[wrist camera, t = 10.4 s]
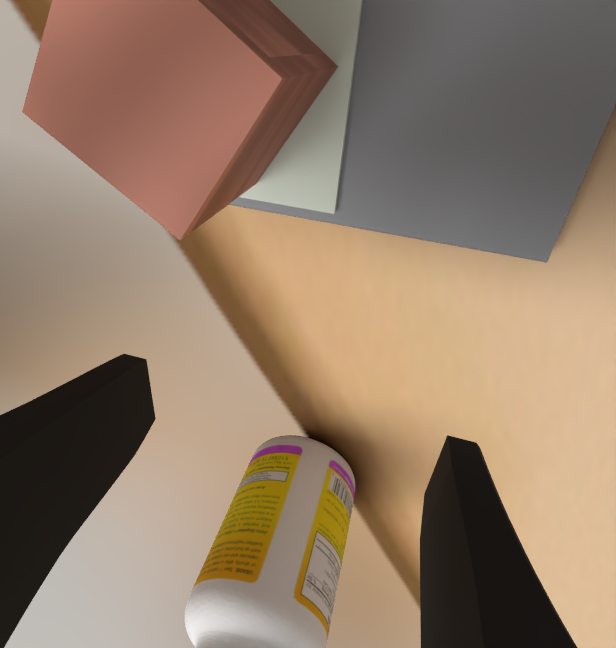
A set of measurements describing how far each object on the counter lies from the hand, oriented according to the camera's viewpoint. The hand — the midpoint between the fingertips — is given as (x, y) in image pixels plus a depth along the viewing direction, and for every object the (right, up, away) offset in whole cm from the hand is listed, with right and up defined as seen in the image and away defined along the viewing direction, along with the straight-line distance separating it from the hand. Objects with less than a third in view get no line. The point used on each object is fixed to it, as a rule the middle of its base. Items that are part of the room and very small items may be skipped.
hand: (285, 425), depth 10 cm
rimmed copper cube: (-2, +11, +5) cm, 12 cm away
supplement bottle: (0, -7, +17) cm, 18 cm away
